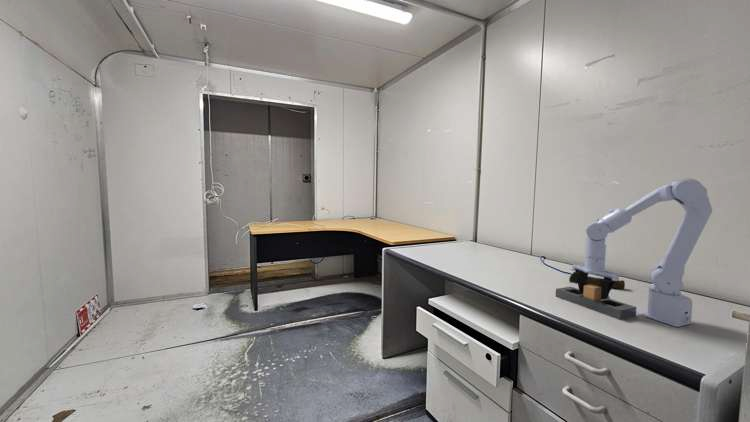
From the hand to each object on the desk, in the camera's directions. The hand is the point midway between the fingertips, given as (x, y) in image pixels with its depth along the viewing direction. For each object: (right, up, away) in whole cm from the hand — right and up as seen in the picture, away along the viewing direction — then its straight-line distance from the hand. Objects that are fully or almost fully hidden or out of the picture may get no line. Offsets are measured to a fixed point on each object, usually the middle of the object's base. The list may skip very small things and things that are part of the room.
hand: (592, 295), depth 105 cm
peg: (0, -4, 0) cm, 4 cm away
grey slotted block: (0, -4, 0) cm, 4 cm away
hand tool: (+18, -3, +22) cm, 29 cm away
